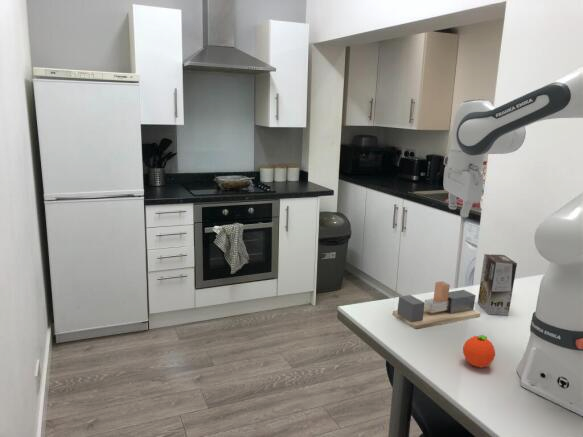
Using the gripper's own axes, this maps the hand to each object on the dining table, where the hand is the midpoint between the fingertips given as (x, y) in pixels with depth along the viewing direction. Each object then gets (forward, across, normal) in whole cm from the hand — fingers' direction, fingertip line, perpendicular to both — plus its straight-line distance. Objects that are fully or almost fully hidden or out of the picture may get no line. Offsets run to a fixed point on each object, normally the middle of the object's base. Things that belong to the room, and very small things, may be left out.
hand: (457, 212), depth 130 cm
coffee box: (+31, +8, -18) cm, 36 cm away
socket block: (+30, -4, +10) cm, 32 cm away
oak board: (+31, 0, +2) cm, 31 cm away
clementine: (+30, -27, 0) cm, 40 cm away
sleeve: (+30, +4, -5) cm, 30 cm away
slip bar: (+29, +2, -2) cm, 29 cm away
